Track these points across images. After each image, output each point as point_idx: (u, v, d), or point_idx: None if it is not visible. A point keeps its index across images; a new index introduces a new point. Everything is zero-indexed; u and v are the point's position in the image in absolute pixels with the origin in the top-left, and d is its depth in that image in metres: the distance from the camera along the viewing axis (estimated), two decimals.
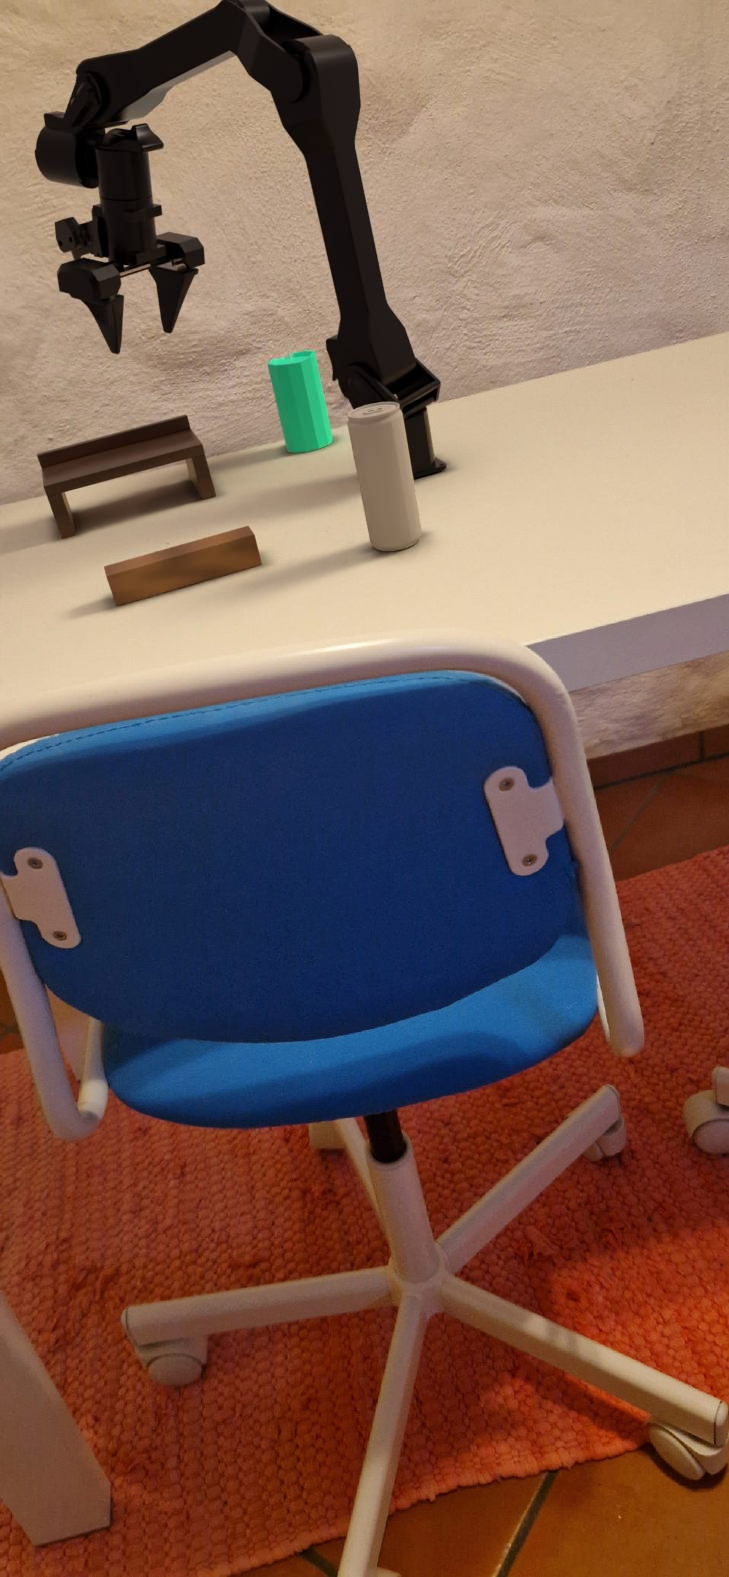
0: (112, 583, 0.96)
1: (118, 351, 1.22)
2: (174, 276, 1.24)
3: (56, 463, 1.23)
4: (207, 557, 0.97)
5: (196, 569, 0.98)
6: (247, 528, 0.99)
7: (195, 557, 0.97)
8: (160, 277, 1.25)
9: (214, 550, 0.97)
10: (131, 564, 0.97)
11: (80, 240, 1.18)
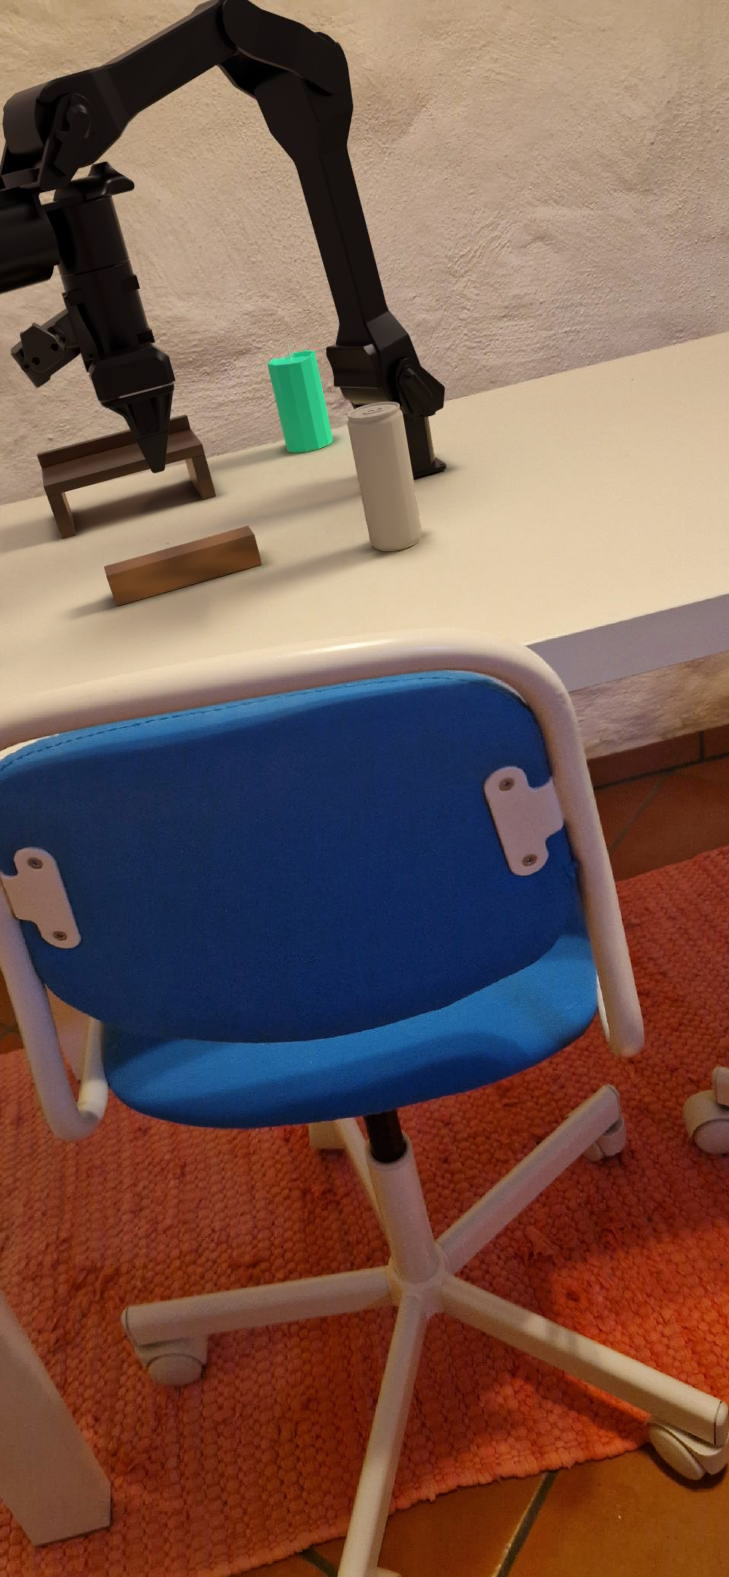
0: (112, 583, 0.96)
1: (164, 465, 0.89)
2: None
3: (56, 463, 1.23)
4: (207, 557, 0.97)
5: (196, 569, 0.98)
6: (247, 528, 0.99)
7: (195, 557, 0.97)
8: None
9: (214, 550, 0.97)
10: (131, 564, 0.97)
11: (63, 345, 0.84)
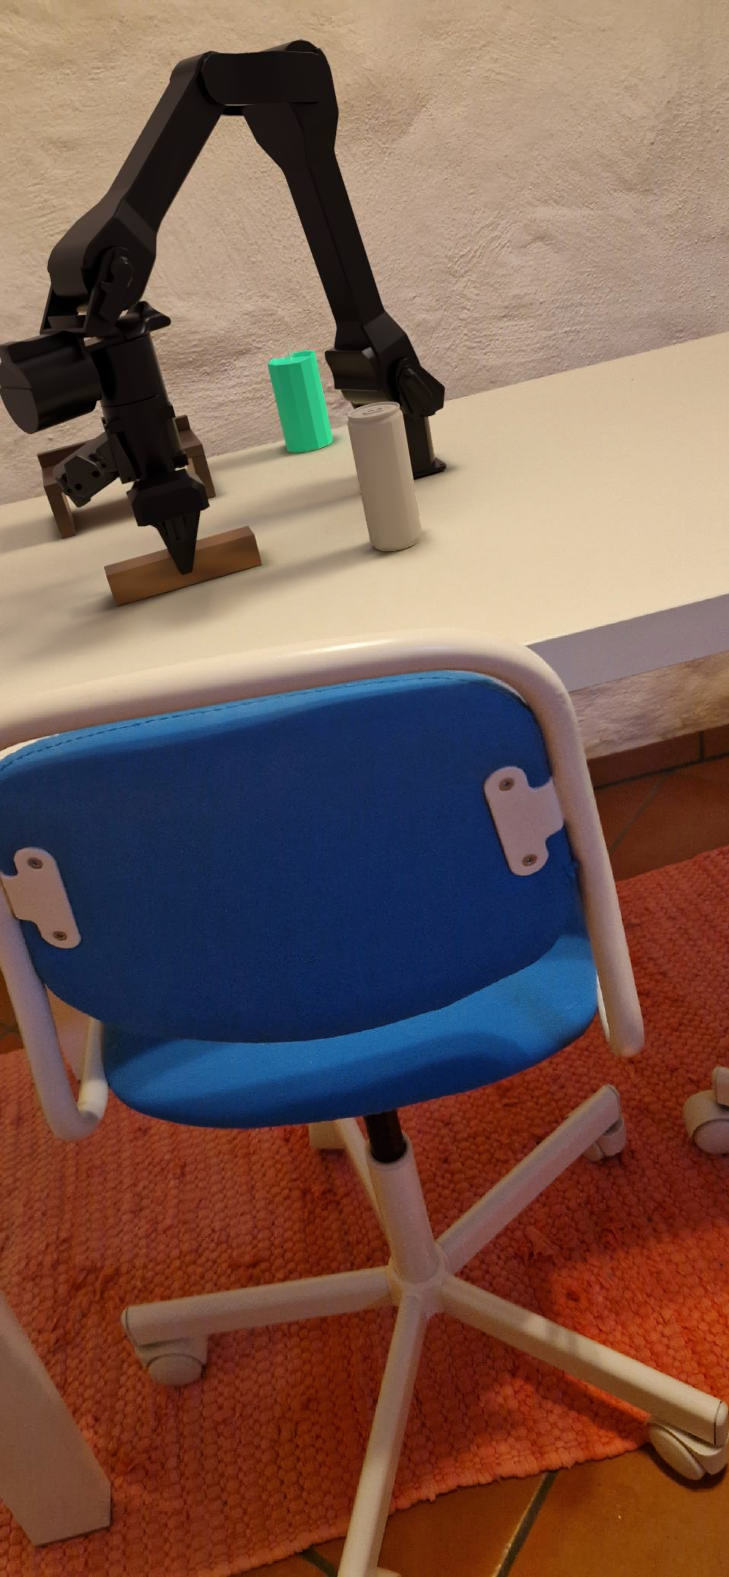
0: (112, 583, 0.96)
1: (192, 568, 0.97)
2: None
3: (56, 463, 1.23)
4: (207, 557, 0.97)
5: (196, 569, 0.98)
6: (247, 528, 0.99)
7: (195, 557, 0.97)
8: None
9: (214, 550, 0.97)
10: (131, 564, 0.97)
11: (103, 471, 0.89)
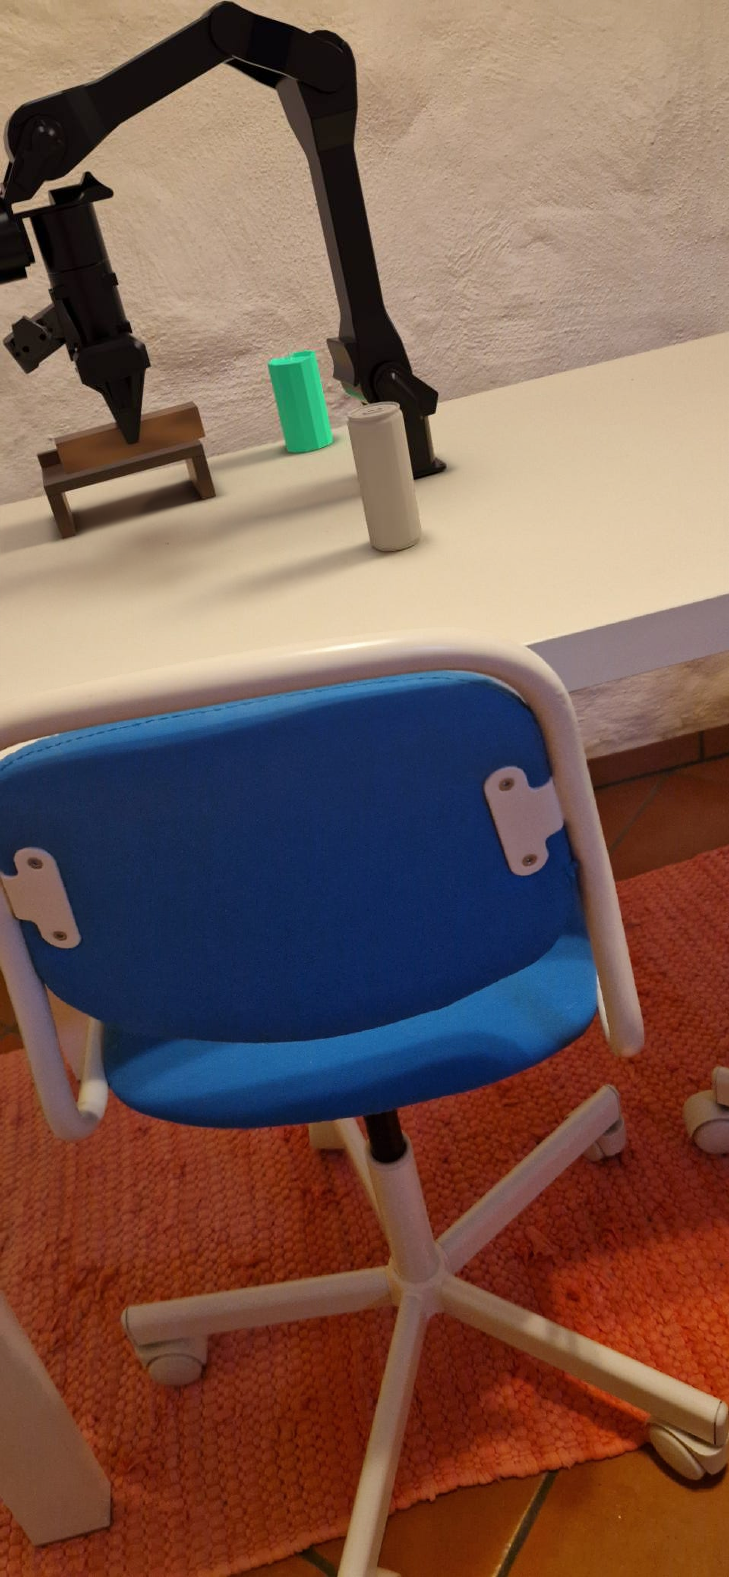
0: (62, 452, 1.01)
1: (138, 438, 1.02)
2: None
3: (56, 463, 1.23)
4: (153, 428, 1.02)
5: (142, 440, 1.02)
6: (191, 403, 1.04)
7: (141, 428, 1.02)
8: None
9: (159, 421, 1.02)
10: (80, 434, 1.02)
11: (50, 335, 0.94)
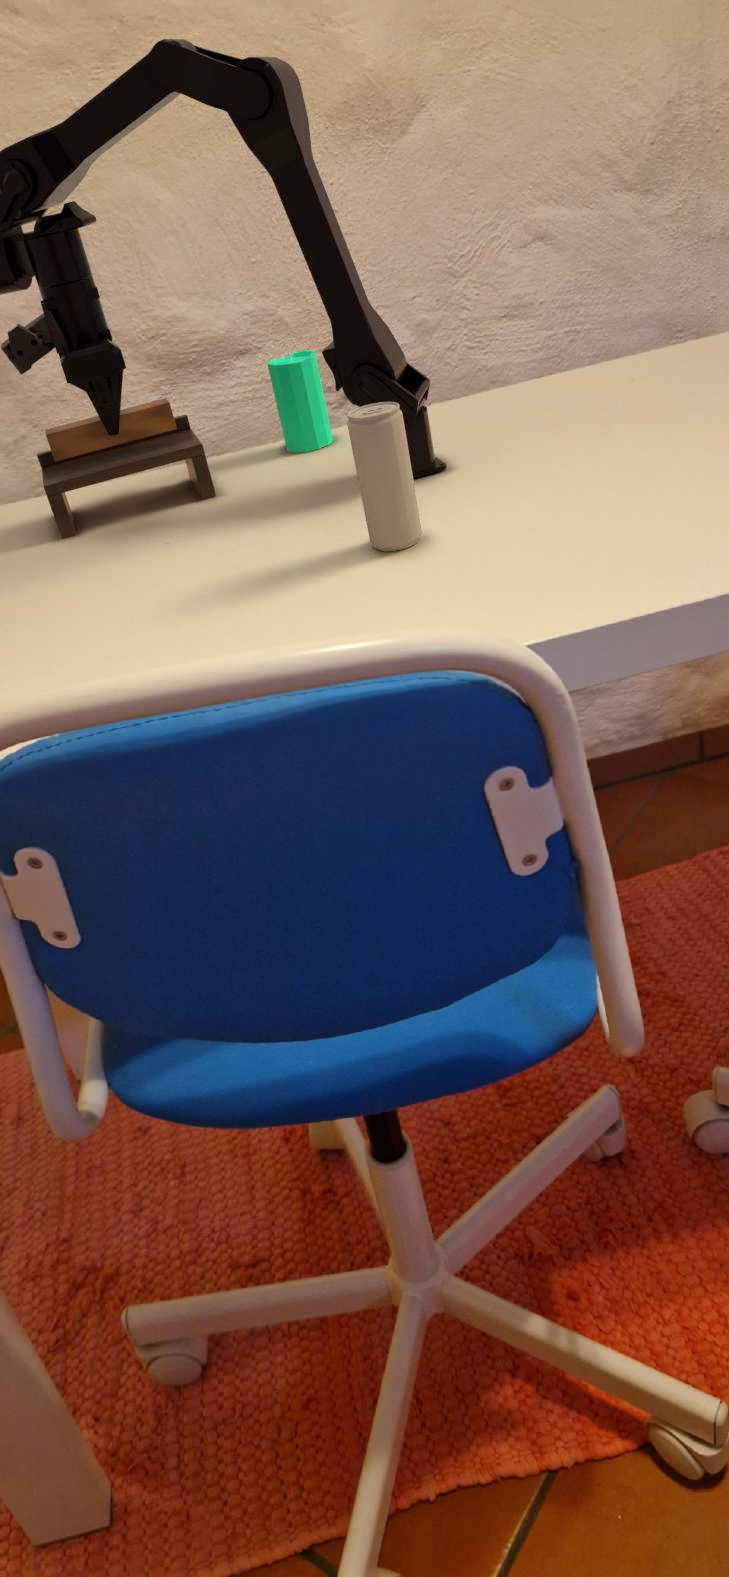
0: (51, 442, 1.16)
1: (118, 430, 1.17)
2: None
3: (56, 463, 1.23)
4: (130, 421, 1.18)
5: (121, 431, 1.18)
6: (164, 399, 1.20)
7: (120, 421, 1.17)
8: None
9: (136, 415, 1.18)
10: (67, 426, 1.17)
11: (40, 341, 1.10)
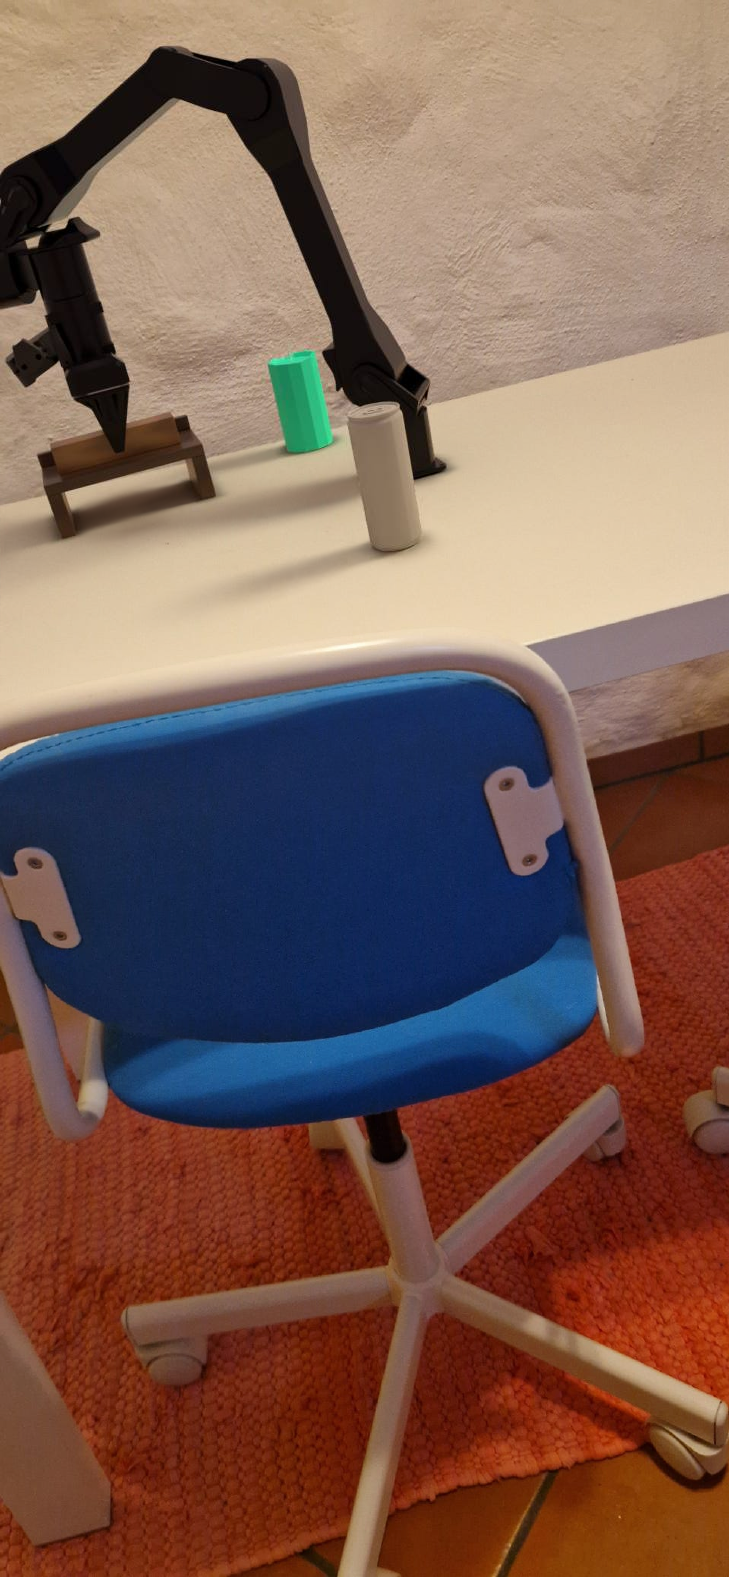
0: (56, 455, 1.17)
1: (124, 447, 1.16)
2: None
3: None
4: (134, 435, 1.19)
5: (126, 445, 1.19)
6: (168, 413, 1.21)
7: None
8: None
9: (140, 429, 1.18)
10: (72, 440, 1.18)
11: (45, 355, 1.10)
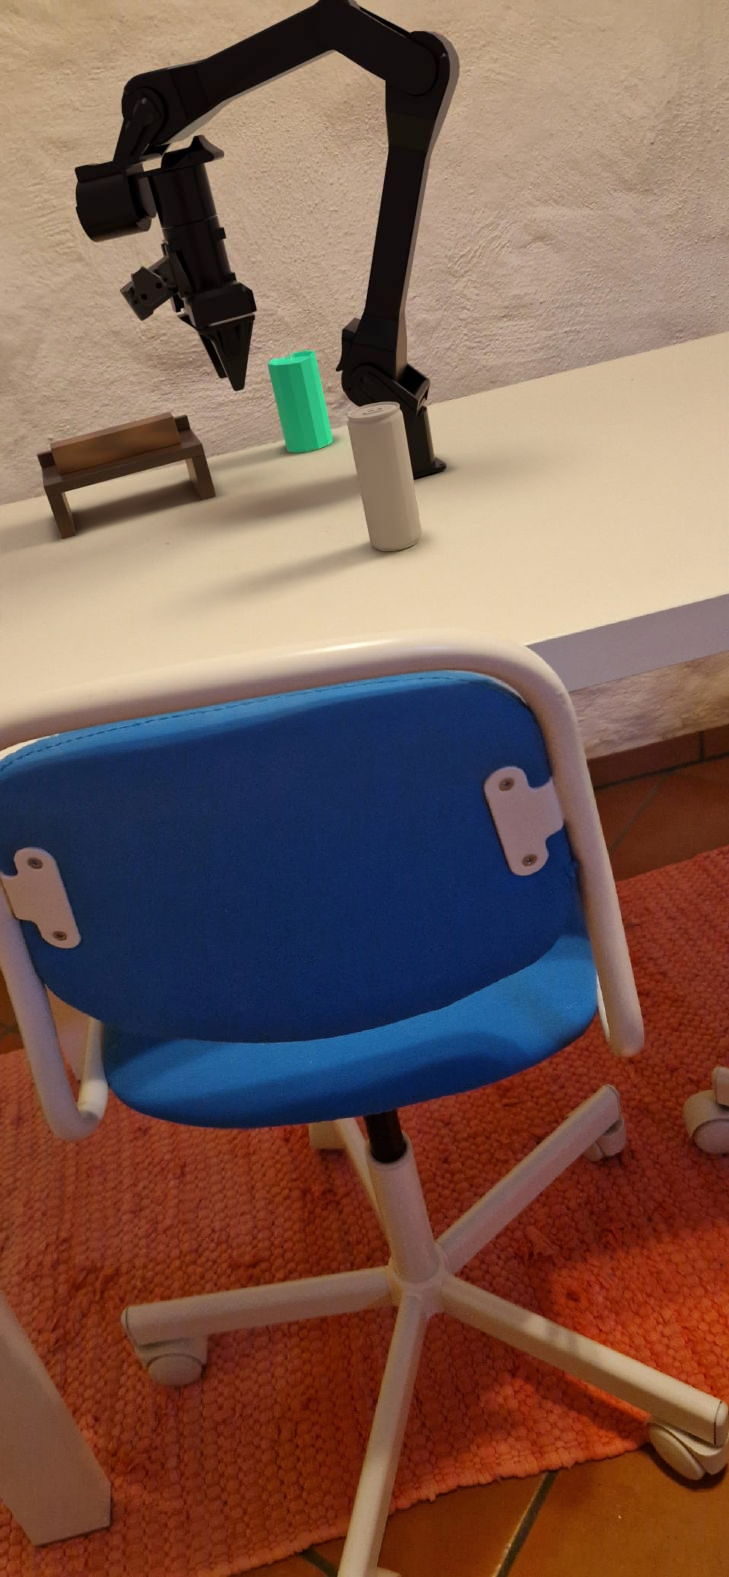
0: (56, 455, 1.17)
1: (244, 385, 1.09)
2: None
3: None
4: (134, 435, 1.19)
5: (126, 445, 1.19)
6: (168, 413, 1.21)
7: (124, 435, 1.18)
8: None
9: (140, 429, 1.18)
10: (72, 440, 1.18)
11: (165, 284, 1.04)
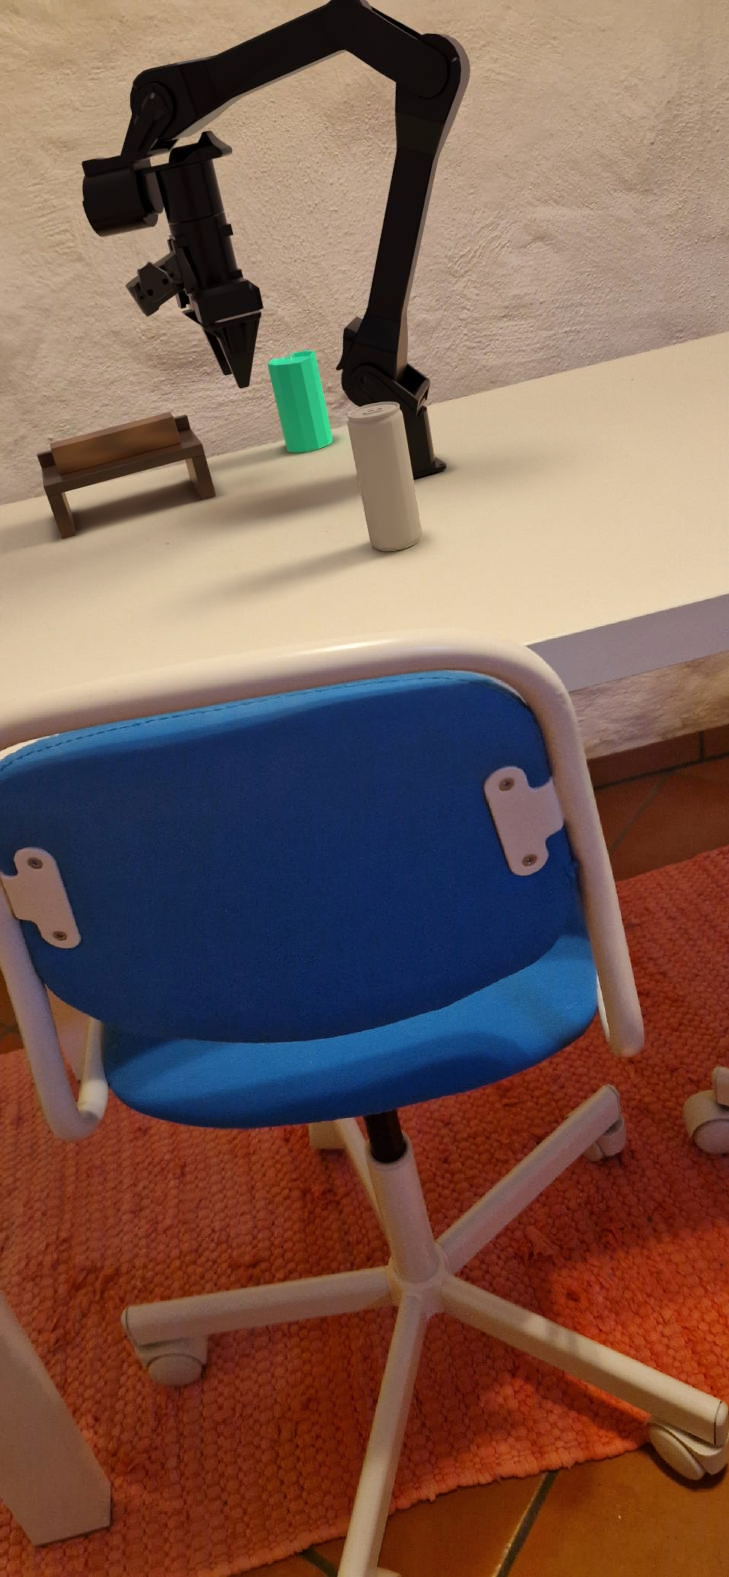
0: (56, 455, 1.17)
1: (249, 382, 1.09)
2: None
3: None
4: (134, 435, 1.19)
5: (126, 445, 1.19)
6: (168, 413, 1.21)
7: (124, 435, 1.18)
8: None
9: (140, 429, 1.18)
10: (72, 440, 1.18)
11: (171, 280, 1.04)
